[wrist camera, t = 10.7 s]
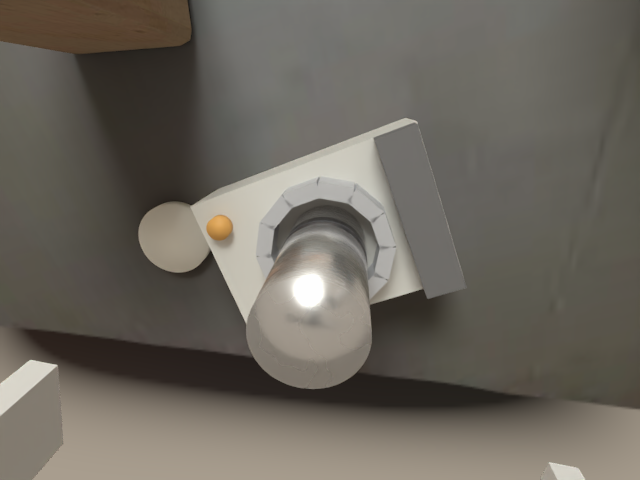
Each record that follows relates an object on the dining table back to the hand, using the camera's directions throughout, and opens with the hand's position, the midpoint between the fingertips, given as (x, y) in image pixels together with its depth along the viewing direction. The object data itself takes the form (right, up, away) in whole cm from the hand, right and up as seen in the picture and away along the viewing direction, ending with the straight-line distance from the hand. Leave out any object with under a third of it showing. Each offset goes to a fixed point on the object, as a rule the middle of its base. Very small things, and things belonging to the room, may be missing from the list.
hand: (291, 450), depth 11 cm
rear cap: (-11, +6, +25) cm, 28 cm away
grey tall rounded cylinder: (+1, +6, +17) cm, 18 cm away
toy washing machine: (+2, +7, +23) cm, 24 cm away
